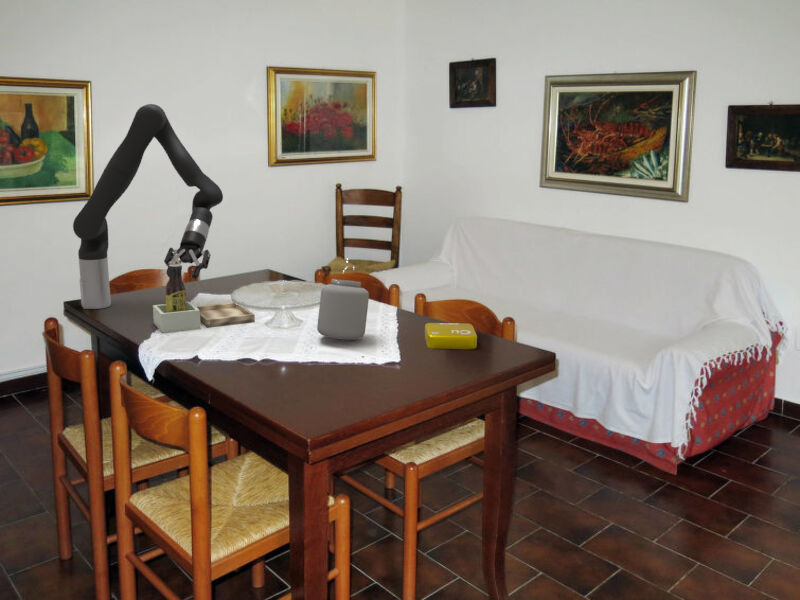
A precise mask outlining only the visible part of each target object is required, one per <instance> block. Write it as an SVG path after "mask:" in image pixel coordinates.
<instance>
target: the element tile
mask: <svg viewBox="0 0 800 600" xmlns="http://www.w3.org/2000/svg"><path fill="white" fill-rule="evenodd" d="M424 338H425V342H426V347H427V348H428V349H433V350H439V349H440V350H474V349H477V347H478V346H477V345H478V344H477V343H478V335H477V333H476V330H475V328H474V326H473V324H471V323H466V322H465V323H462V322H461V323H457V322H456V323H454V322H453V323H452V322H448V323H447V322H444V323H443V322H427V323H426V324H424Z"/></svg>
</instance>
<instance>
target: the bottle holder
mask: <svg viewBox="0 0 800 600" xmlns="http://www.w3.org/2000/svg"><path fill="white" fill-rule="evenodd" d="M152 311H153V312H152V317H153V324H154V326H155V327H157V328H158V330H159V331H160V333H162V334H164V333H171V332H172V333H173V332H181V331H190V330H197V329H201V326H202V325H201V322H200V310H199V309H198V308H197V306H196V305H194V304H193V303H192V302H191V301H186V311H179V312H170V313H166V303H165V304H162V303H161V304H153V305H152Z"/></svg>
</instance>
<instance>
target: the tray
mask: <svg viewBox="0 0 800 600" xmlns="http://www.w3.org/2000/svg"><path fill="white" fill-rule="evenodd" d="M235 303H236V302H228V303H217V304H207V305H200V306H199V305H198V306H196V307H197V308H198V309H199V310H200V324H202V325H203V326H204V327H206V328H213V327H214V328H215V327H223V326H224V327H225V326H231V325H239V324H248V323H255V322H256V321H255V320H256V318H255V317H256V316H255V313H253V312H252V311H250V310H249V309H247V308H246V307H245V306H243V307H241V306H239V305H236V304H235ZM244 307H245V308H244Z"/></svg>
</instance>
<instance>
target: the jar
mask: <svg viewBox="0 0 800 600" xmlns="http://www.w3.org/2000/svg"><path fill="white" fill-rule="evenodd" d="M346 263H349V258H346ZM352 268H353V271H354V270H355V266H353V267H352ZM345 270H347V267H345V268H344V270H342V272H343V273H344V272H345ZM361 286H362V282H361V281H356V280H355V281H354V280H346V279H335V278H332V279H331V283H329V284H326V285H323V287H322V288H321V291H320V297H319V307H318V317H317V326H316V328H317V332H318V333H319V334H320V335H322V336H323V337H328V338H332V339H340V340H360V339H361V338H363V337H364V336H365V333H366V326H367V319H368V310H369V309H368V308H369V300H370V293H369V291H368V290H367V289H365V288H364V287H361Z"/></svg>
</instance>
